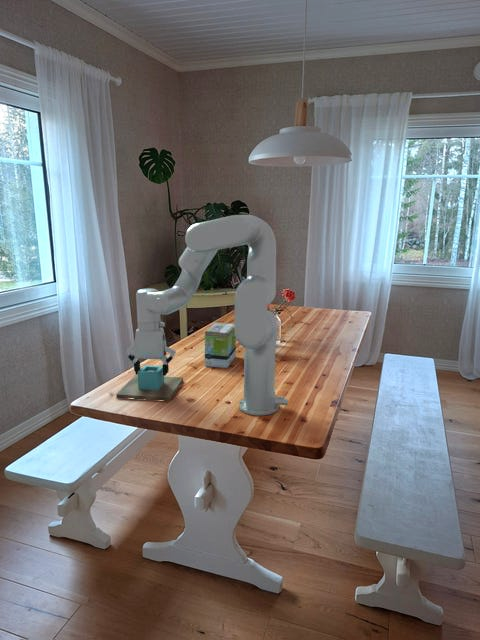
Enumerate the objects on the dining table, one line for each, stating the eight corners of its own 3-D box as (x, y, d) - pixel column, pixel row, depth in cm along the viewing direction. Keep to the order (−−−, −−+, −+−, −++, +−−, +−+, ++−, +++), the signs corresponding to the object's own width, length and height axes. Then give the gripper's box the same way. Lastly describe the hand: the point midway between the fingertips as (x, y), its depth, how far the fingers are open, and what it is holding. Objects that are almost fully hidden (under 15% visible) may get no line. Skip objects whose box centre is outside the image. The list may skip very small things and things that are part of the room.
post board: (183, 381, 163) (182, 364, 162) (169, 401, 146) (169, 383, 144) (135, 378, 165) (134, 361, 164) (116, 398, 148) (115, 380, 146)
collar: (164, 382, 158) (163, 366, 157) (158, 390, 151) (157, 373, 150) (144, 381, 159) (144, 365, 157) (138, 388, 152) (137, 372, 151)
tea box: (228, 368, 177) (228, 332, 174) (203, 366, 179) (203, 330, 176) (236, 356, 191) (236, 323, 188) (213, 355, 193) (213, 321, 190)
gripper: (177, 323, 153) (178, 371, 157) (128, 322, 155) (131, 369, 159) (171, 329, 145) (173, 379, 149) (120, 327, 147) (123, 376, 151)
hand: (151, 373), depth 154 cm, fingers open, 9 cm apart
